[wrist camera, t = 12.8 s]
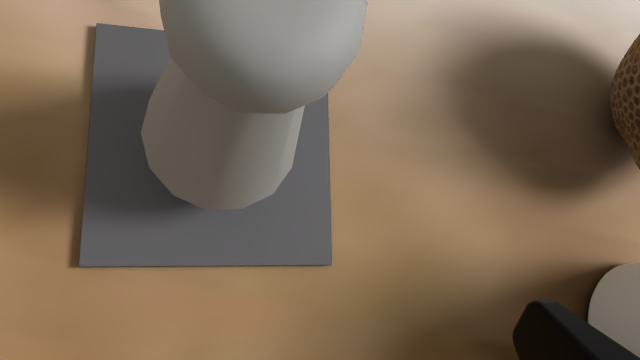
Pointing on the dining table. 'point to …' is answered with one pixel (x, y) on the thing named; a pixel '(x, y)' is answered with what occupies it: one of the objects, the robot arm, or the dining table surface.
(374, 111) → the dining table surface
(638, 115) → the natural sponge
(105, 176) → the charcoal mat
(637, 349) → the can
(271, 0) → the salt shaker
